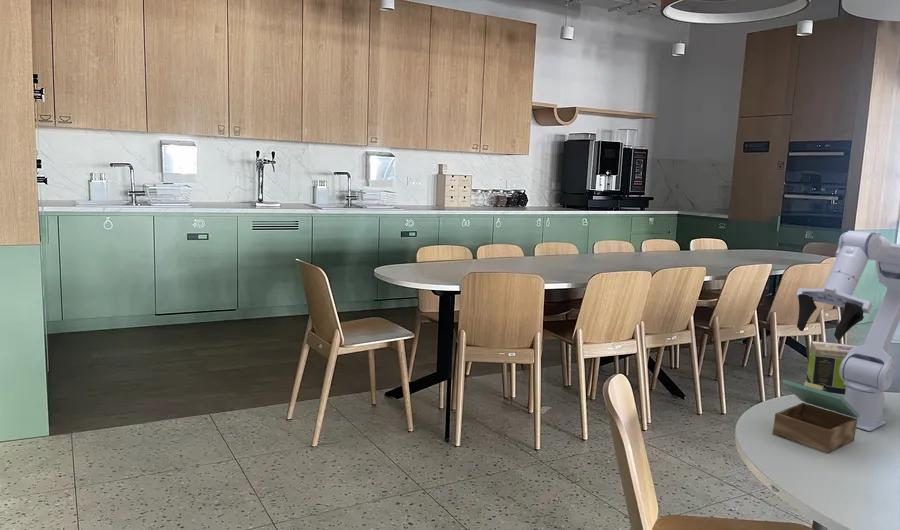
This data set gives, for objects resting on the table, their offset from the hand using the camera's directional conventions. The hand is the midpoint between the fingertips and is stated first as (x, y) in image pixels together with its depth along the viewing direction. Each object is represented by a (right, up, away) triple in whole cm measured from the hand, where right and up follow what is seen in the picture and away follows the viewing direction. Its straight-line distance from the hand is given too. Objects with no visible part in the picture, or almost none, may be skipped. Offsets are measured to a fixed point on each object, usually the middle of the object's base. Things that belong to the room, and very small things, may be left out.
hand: (817, 333), depth 143 cm
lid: (+5, -16, +9) cm, 19 cm away
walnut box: (+4, -24, +10) cm, 27 cm away
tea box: (+24, -22, +35) cm, 47 cm away
